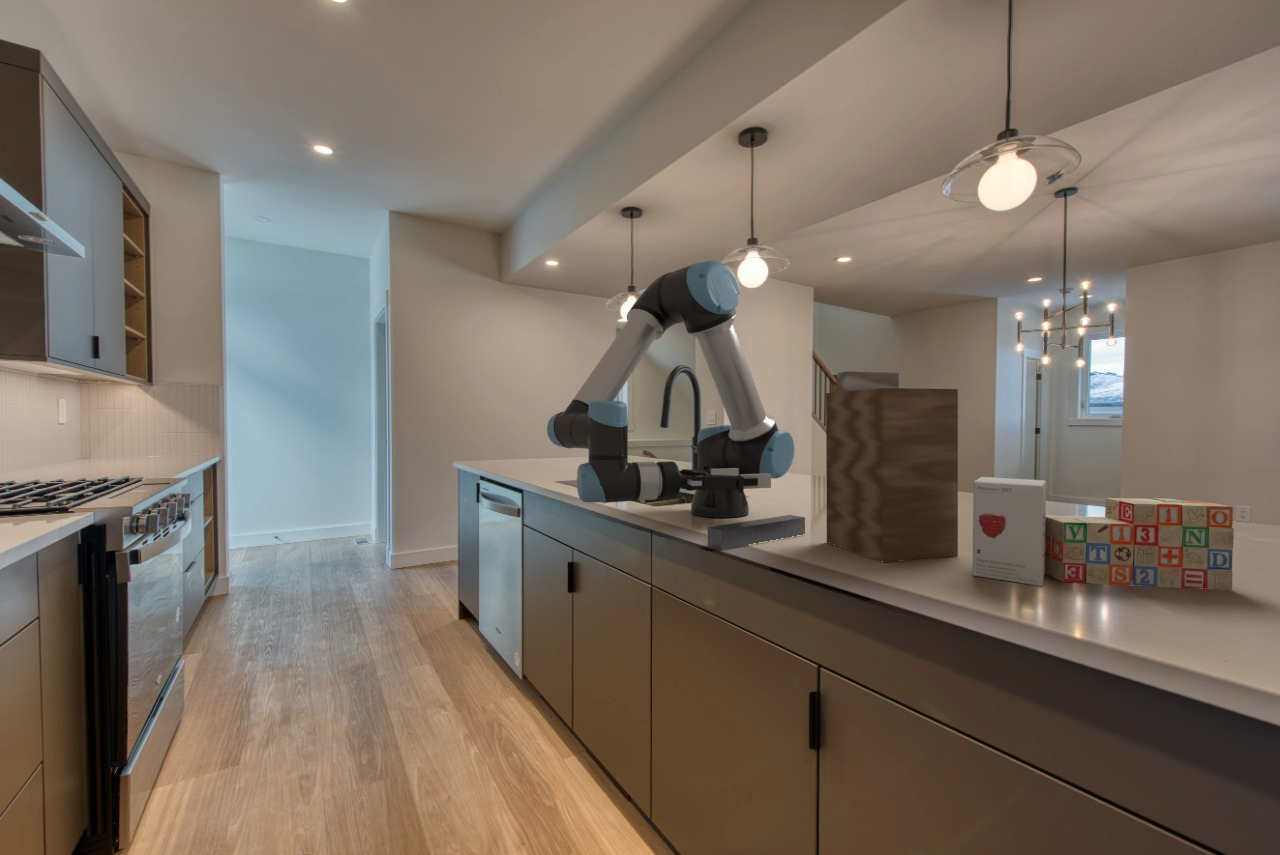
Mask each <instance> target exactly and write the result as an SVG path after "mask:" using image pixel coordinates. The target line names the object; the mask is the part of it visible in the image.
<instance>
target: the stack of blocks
mask: <svg viewBox="0 0 1280 855" xmlns="http://www.w3.org/2000/svg"><path fill="white" fill-rule="evenodd" d="M1104 507H1105V508H1104V509H1105V511H1104V512H1105V513H1104V516H1084V515H1054V514H1053V515H1052V514H1051V515H1049V514H1046V519H1045V574H1046V575H1048V576H1049V575H1050V576H1049V577H1051V576H1052V578H1053V579H1055V580H1058V581H1059V580H1060V581H1059V582H1061V581H1062V582H1061V583H1071V582H1078V583H1077V584H1087V583H1091V585H1105V584H1108V585H1109V584H1117V585H1116V586H1123V585H1141V586H1140V587H1146V586H1158V587H1157V588H1167V587H1181V588H1180V589H1185V588H1203V589H1202V590H1205V588H1206V589H1225V590H1232V591H1233V549H1234V543H1235V542H1234V539H1235V538H1234V534H1235V532H1234V531H1235V530H1234V527H1233V518H1234V517H1233V515H1234V514H1233V513H1234V511H1233V510H1234V507H1233V506H1231V505H1225V504H1220V503H1215V502H1214V503H1213V502H1207V501H1201V500H1189V499H1187V500H1186V499H1185V500H1184V499H1175V498H1160V497H1159V498H1156V497H1155V498H1154V497H1153V498H1152V497H1151V498H1132V497H1131V498H1126V497H1125V498H1123V497H1115V498H1114V497H1106V498H1105V506H1104ZM1093 583H1094V584H1093ZM1095 583H1096V584H1095ZM1159 586H1161V587H1159Z"/></svg>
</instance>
